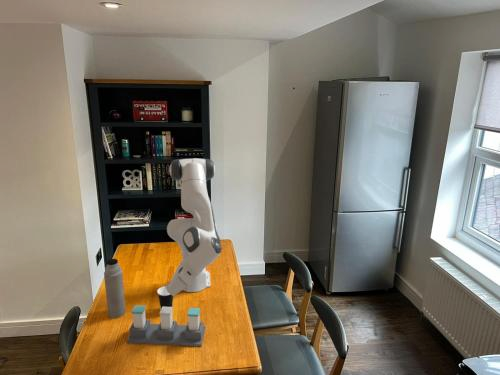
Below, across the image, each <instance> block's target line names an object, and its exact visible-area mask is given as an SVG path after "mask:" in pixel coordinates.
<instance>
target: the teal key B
mask: <svg viewBox="0 0 500 375" xmlns="http://www.w3.org/2000/svg"><path fill="white" fill-rule="evenodd" d="M200 313H201V308H200V307H189V309H188V312H187V317H188V321H189V331H198V330H199V326H200V322H201V320H200Z"/></svg>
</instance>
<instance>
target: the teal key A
mask: <svg viewBox="0 0 500 375" xmlns="http://www.w3.org/2000/svg"><path fill="white" fill-rule="evenodd" d="M131 315H132V319H133V322H132V323H134V328H144V327H145V325H146V320H147V319H146V305H138V304H137V305H134V307H133V309H132V310H131Z"/></svg>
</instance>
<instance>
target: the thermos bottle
mask: <svg viewBox="0 0 500 375" xmlns="http://www.w3.org/2000/svg"><path fill="white" fill-rule="evenodd" d="M105 264H106V266H105V268H104V272H103V277H104V288H105V297H106V298H105V299H106V307H107V316H108V317H109V318H112V319H119V318H121V317H123V316H124V315H125V314H126V313H127V312H126V310H127V309H126V300H125V288H124V277H123V275H124V274H123V269H122V268H121V265H120V264H119V262H118V259H117V258H110V259H107V261H106V263H105Z"/></svg>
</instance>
